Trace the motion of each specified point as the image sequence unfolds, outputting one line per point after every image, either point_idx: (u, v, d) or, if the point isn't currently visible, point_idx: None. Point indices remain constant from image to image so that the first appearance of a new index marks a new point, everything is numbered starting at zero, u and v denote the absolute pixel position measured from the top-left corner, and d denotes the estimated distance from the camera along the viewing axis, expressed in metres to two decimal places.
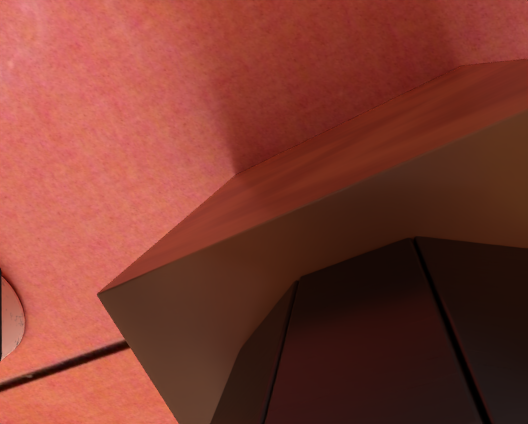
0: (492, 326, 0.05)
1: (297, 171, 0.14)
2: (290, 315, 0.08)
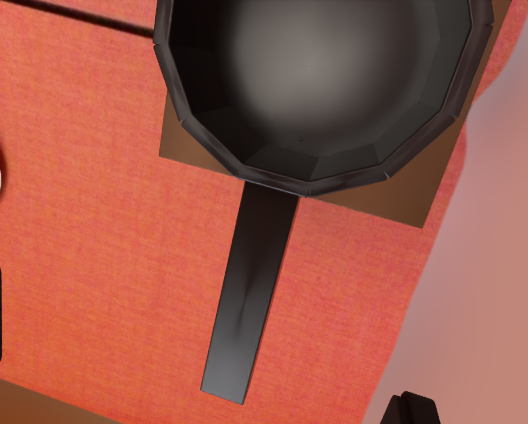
0: None
1: None
2: None
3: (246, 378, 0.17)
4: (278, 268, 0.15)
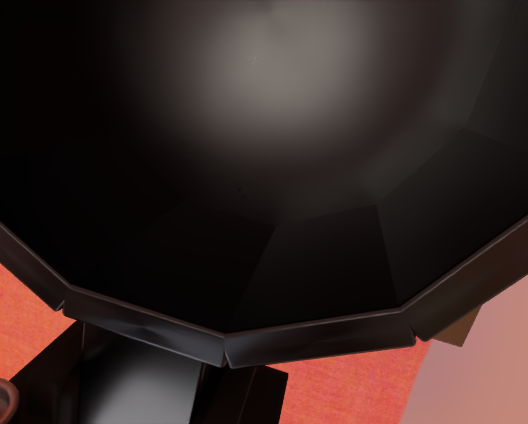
0: None
1: None
2: None
3: None
4: None
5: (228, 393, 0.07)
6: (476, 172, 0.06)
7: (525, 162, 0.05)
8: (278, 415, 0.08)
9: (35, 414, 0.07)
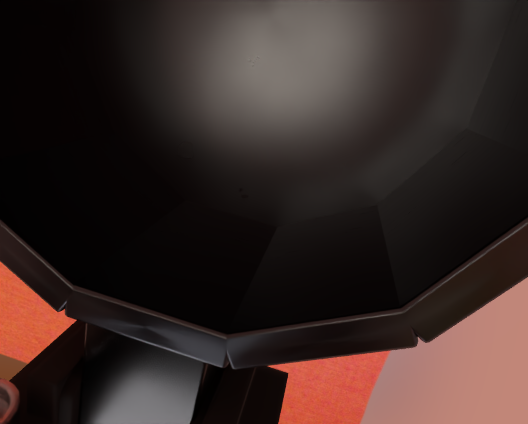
0: None
1: None
2: None
3: None
4: None
5: (228, 393, 0.07)
6: (478, 173, 0.06)
7: (527, 164, 0.05)
8: (278, 415, 0.08)
9: (35, 414, 0.07)
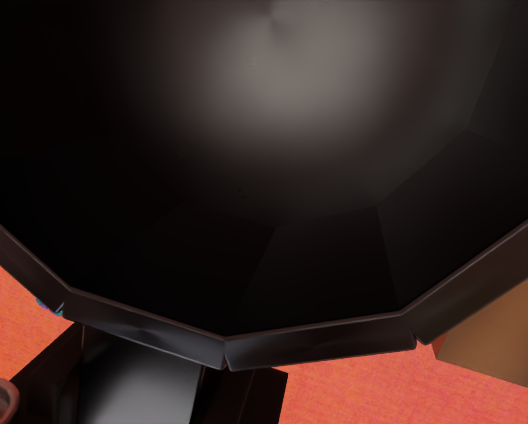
0: None
1: None
2: None
3: None
4: None
5: (228, 393, 0.07)
6: (477, 174, 0.06)
7: (526, 165, 0.05)
8: (278, 415, 0.08)
9: (35, 414, 0.07)
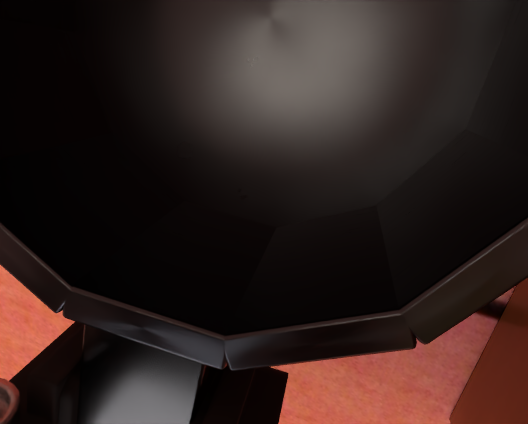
0: None
1: None
2: None
3: None
4: None
5: (228, 393, 0.07)
6: (476, 174, 0.06)
7: (526, 165, 0.05)
8: (278, 415, 0.08)
9: (35, 414, 0.07)
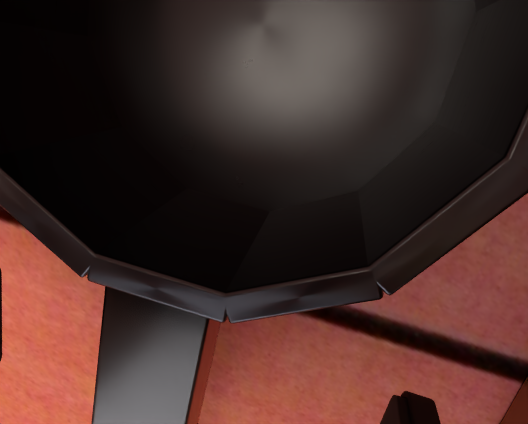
0: None
1: None
2: None
3: None
4: None
5: None
6: (437, 159, 0.07)
7: (472, 148, 0.06)
8: None
9: None
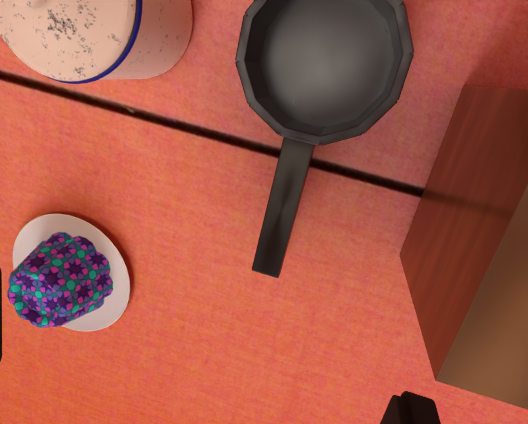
0: None
1: None
2: None
3: (281, 259, 0.28)
4: (302, 188, 0.26)
5: None
6: (379, 101, 0.26)
7: (385, 96, 0.25)
8: None
9: None
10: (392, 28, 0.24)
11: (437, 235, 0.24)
